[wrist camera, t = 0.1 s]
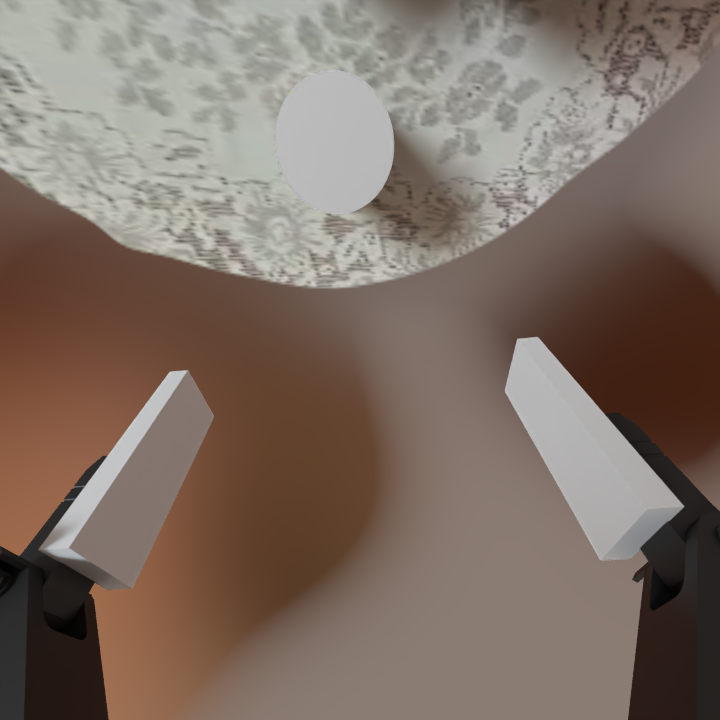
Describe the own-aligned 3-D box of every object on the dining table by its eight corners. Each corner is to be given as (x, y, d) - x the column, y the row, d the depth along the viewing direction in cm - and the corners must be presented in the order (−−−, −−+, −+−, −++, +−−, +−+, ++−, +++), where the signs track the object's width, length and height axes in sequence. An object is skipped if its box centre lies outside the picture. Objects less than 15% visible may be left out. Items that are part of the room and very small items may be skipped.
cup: (382, 87, 28) (397, 68, 19) (380, 187, 33) (391, 213, 24) (294, 88, 28) (264, 70, 19) (304, 188, 33) (285, 215, 24)
